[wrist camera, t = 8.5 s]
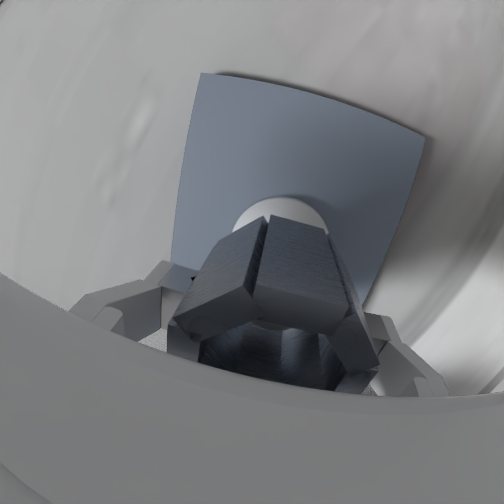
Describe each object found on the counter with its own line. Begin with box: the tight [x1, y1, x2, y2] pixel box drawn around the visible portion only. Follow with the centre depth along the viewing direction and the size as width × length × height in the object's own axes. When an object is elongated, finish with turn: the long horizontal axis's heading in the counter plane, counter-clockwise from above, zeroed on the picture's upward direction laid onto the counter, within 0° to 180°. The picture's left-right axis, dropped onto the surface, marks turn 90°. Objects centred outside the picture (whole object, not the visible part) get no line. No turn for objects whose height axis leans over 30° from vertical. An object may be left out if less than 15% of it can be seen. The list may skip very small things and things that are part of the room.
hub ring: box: [167, 214, 380, 394], centre depth 9 cm, size 6×6×5 cm
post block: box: [171, 73, 426, 331], centre depth 13 cm, size 16×12×6 cm
